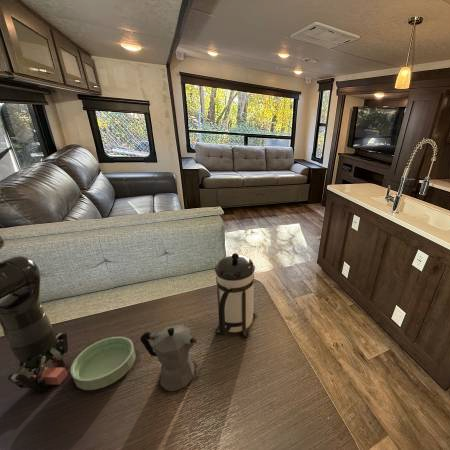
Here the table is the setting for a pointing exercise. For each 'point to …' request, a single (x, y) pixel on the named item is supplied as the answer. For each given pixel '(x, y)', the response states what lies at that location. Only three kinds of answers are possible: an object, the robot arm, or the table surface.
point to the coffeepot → (172, 355)
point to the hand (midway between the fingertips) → (51, 379)
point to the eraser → (54, 375)
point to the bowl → (103, 363)
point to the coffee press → (235, 293)
